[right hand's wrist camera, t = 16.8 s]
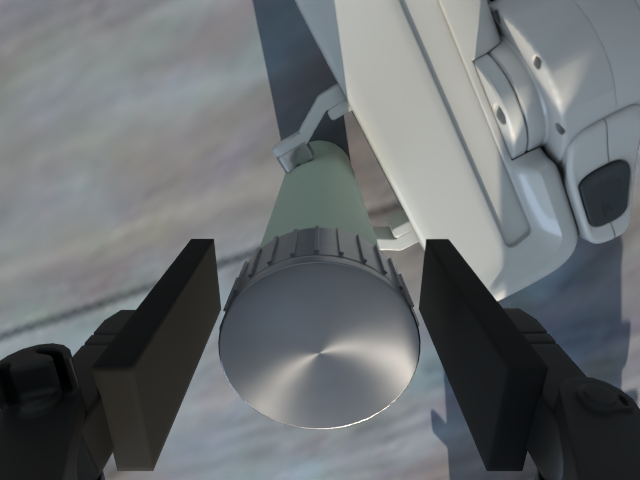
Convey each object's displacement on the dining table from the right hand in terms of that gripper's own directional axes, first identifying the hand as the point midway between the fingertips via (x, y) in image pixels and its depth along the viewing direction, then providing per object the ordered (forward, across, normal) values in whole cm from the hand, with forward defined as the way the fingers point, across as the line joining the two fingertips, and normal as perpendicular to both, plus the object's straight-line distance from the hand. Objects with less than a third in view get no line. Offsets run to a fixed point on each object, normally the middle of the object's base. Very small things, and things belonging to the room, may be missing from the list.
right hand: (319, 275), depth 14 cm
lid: (-4, 0, 0) cm, 4 cm away
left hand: (+10, -1, 0) cm, 10 cm away
